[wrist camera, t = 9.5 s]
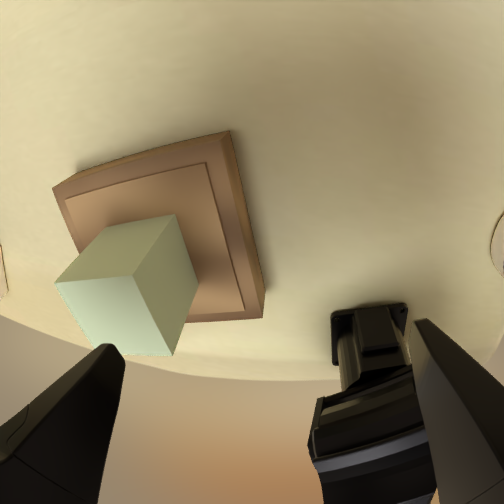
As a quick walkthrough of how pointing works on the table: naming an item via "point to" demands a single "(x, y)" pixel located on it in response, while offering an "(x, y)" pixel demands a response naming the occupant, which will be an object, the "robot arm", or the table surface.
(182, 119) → the table surface
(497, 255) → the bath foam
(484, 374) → the robot arm
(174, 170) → the walnut base
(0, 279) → the medicine bottle
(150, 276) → the sage block
